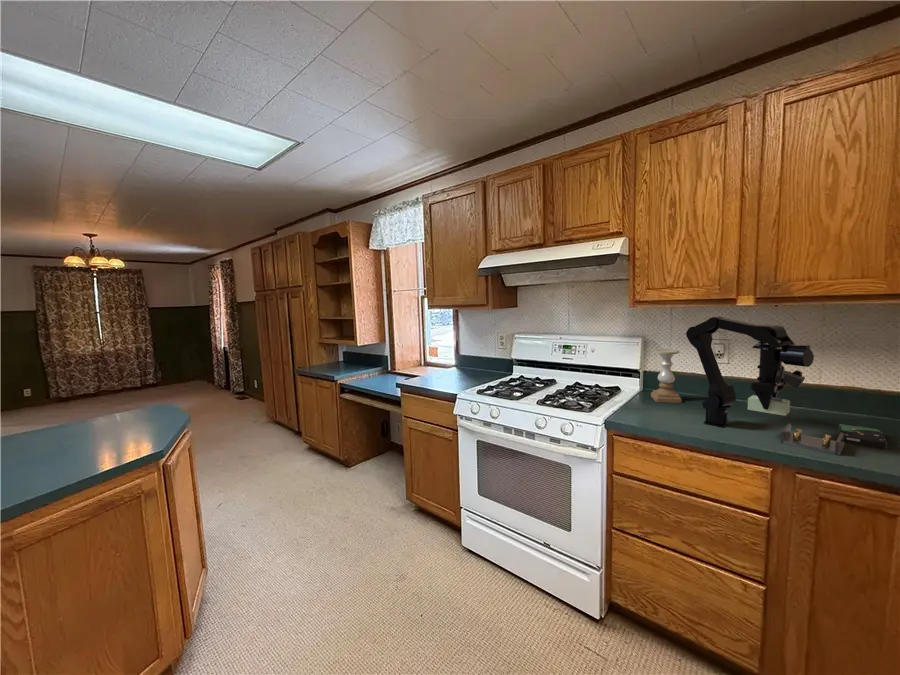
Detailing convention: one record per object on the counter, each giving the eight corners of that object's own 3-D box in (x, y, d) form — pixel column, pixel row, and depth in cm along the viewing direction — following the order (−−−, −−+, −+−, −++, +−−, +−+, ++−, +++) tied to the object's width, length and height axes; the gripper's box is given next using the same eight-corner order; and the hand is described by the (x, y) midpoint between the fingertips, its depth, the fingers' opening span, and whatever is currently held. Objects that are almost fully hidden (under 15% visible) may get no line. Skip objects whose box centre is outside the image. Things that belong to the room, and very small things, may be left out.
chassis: (779, 442, 124) (780, 431, 124) (786, 434, 131) (787, 423, 131) (839, 455, 113) (840, 442, 113) (844, 445, 120) (845, 433, 120)
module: (747, 409, 129) (748, 396, 128) (752, 406, 132) (752, 393, 132) (785, 415, 121) (786, 402, 120) (789, 411, 125) (790, 398, 124)
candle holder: (656, 402, 175) (657, 352, 172) (650, 396, 185) (651, 349, 183) (682, 403, 172) (683, 352, 169) (674, 396, 182) (676, 349, 180)
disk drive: (887, 451, 116) (880, 436, 127) (888, 442, 116) (881, 428, 127) (840, 443, 123) (837, 430, 134) (840, 435, 123) (837, 422, 134)
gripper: (796, 369, 113) (793, 418, 115) (809, 361, 124) (806, 406, 126) (750, 365, 122) (748, 411, 123) (766, 358, 133) (764, 400, 135)
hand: (768, 407), depth 127 cm, fingers closed on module, 6 cm apart
